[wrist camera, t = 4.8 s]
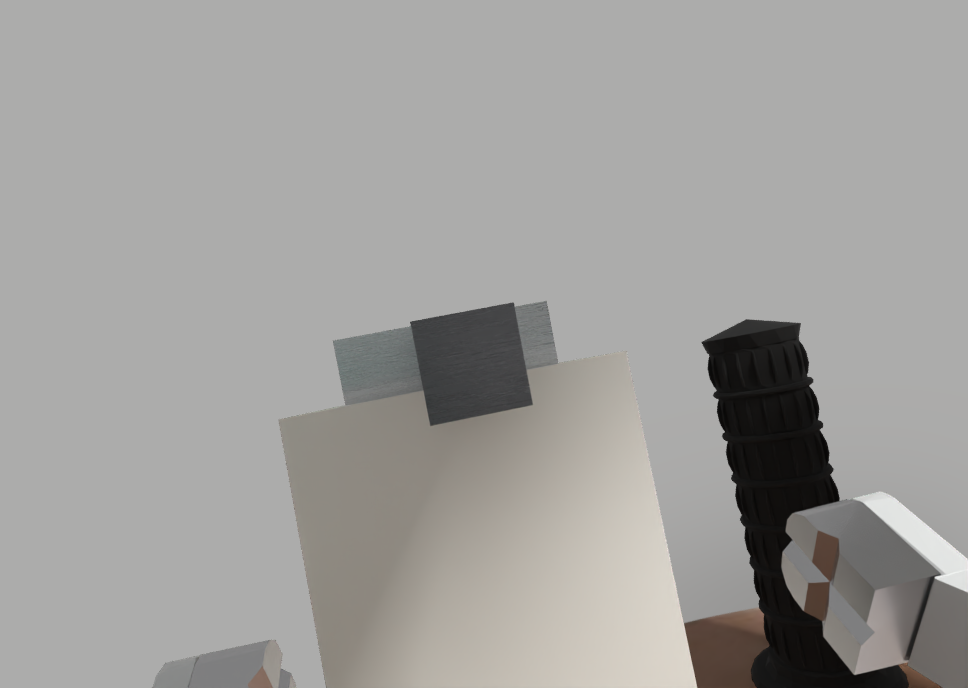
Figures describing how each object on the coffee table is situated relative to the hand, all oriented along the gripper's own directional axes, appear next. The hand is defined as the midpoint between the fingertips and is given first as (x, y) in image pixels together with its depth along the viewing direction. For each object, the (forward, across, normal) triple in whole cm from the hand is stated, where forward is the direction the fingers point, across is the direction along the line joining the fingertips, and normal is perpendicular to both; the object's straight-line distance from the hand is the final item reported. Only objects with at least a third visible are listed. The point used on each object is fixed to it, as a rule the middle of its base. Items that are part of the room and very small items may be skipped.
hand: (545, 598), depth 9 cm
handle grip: (+17, -23, +36) cm, 46 cm away
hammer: (+14, 0, +4) cm, 15 cm away
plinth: (+8, 0, +31) cm, 32 cm away
